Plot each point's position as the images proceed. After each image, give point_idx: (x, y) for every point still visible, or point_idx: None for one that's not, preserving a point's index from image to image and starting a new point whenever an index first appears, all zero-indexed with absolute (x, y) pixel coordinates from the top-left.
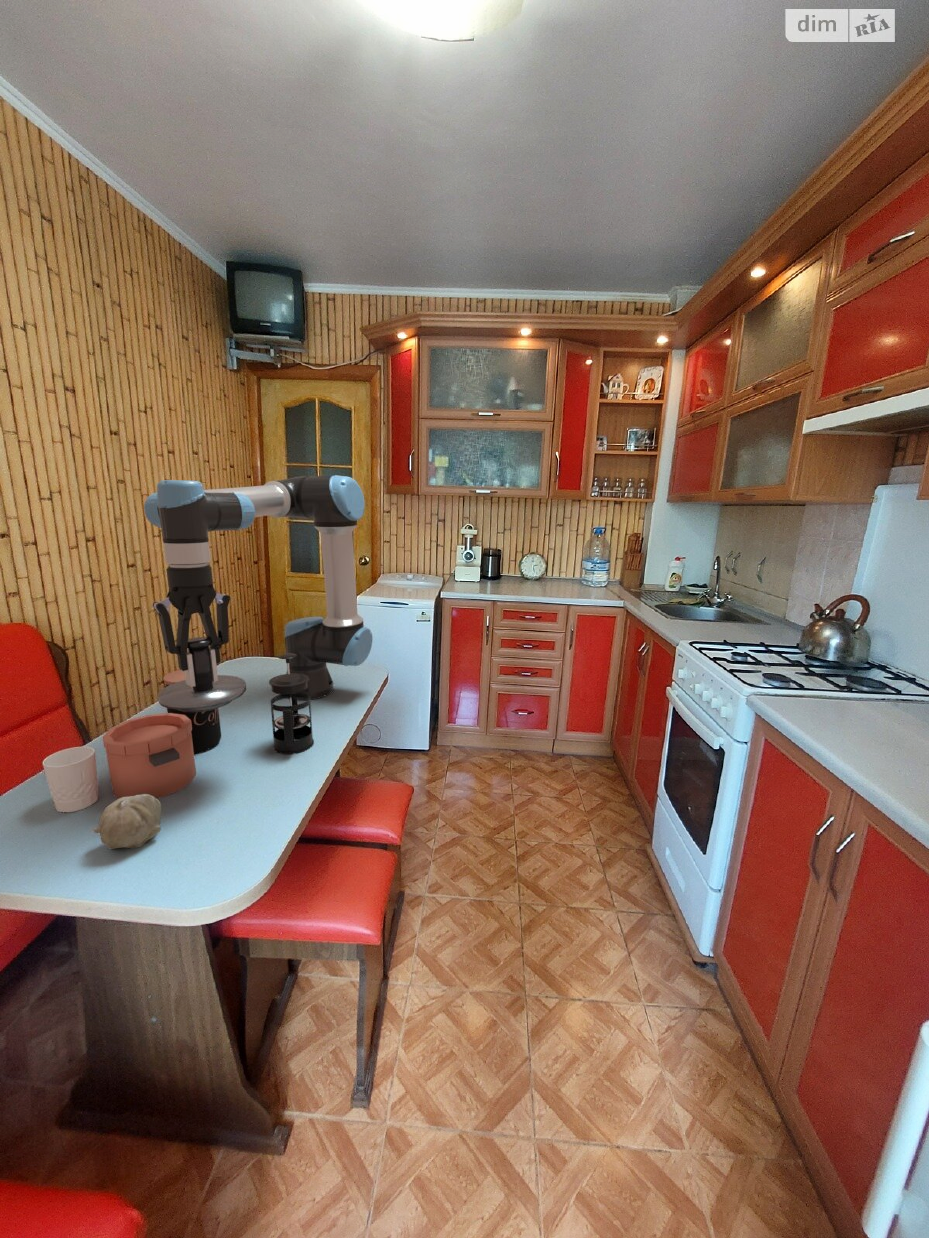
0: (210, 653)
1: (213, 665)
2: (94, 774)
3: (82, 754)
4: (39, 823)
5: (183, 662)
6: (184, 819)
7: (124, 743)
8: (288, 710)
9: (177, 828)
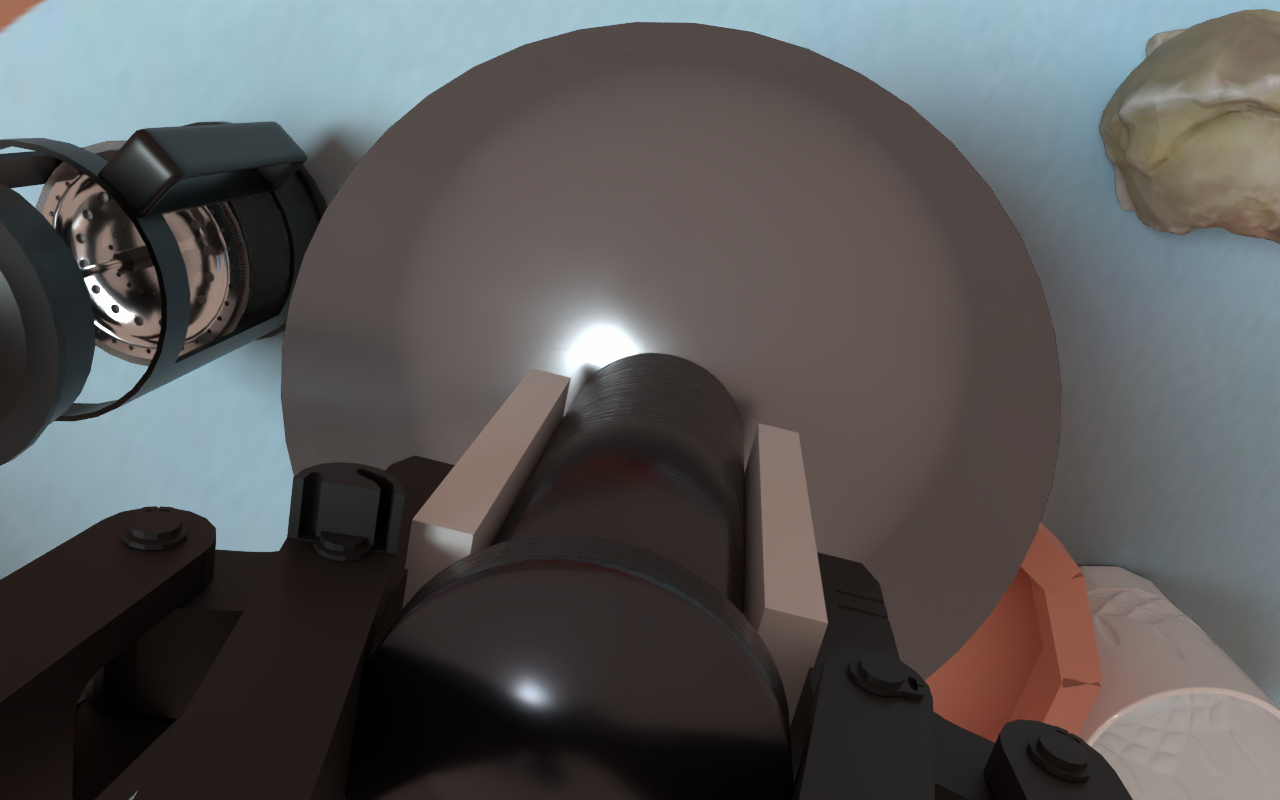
0: (483, 536)
1: (520, 436)
2: None
3: None
4: (1255, 610)
5: (852, 618)
6: (976, 97)
7: (1057, 605)
8: (148, 144)
9: (1040, 57)
